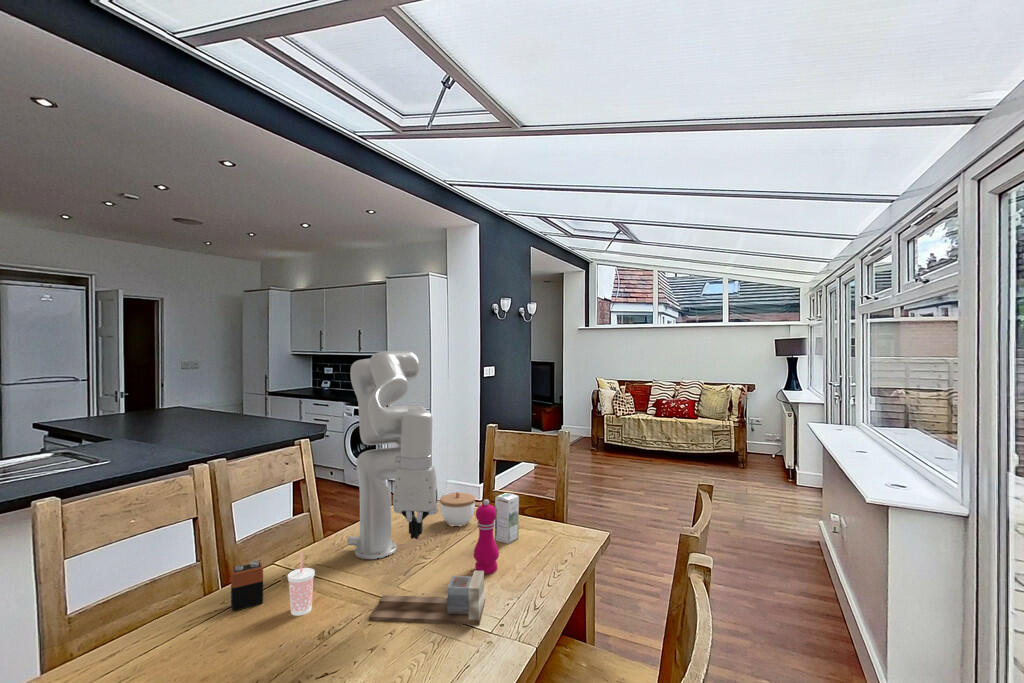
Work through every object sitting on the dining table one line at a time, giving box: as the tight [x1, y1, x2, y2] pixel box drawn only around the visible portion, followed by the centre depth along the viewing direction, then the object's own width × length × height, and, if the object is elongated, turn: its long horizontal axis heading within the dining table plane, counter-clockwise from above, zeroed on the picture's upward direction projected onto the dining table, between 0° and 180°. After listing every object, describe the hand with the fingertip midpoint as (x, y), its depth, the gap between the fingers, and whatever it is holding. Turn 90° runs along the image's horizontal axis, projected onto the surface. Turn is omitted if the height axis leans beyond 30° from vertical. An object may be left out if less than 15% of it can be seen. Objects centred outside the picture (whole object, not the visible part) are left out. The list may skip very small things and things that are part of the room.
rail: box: [368, 570, 486, 625], centre depth 120 cm, size 26×10×8 cm, turn 86°
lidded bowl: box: [439, 491, 476, 526], centre depth 179 cm, size 13×13×11 cm
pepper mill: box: [473, 499, 500, 575], centre depth 142 cm, size 7×7×20 cm
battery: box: [230, 560, 264, 611], centre depth 124 cm, size 4×7×10 cm, turn 123°
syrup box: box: [494, 492, 520, 544], centre depth 164 cm, size 6×6×14 cm
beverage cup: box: [287, 551, 316, 617], centre depth 121 cm, size 6×6×14 cm
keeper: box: [446, 575, 473, 614], centre depth 120 cm, size 5×6×6 cm
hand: (415, 536), depth 121 cm, fingers closed
